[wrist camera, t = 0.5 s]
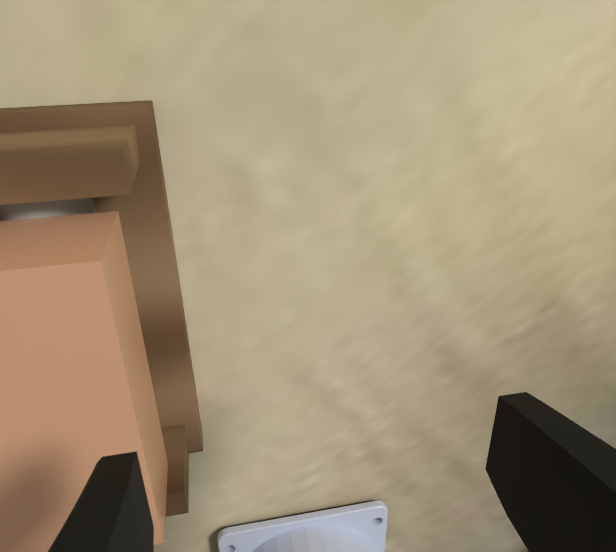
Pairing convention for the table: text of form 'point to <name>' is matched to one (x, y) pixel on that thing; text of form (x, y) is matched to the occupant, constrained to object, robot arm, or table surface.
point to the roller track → (135, 227)
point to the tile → (69, 374)
